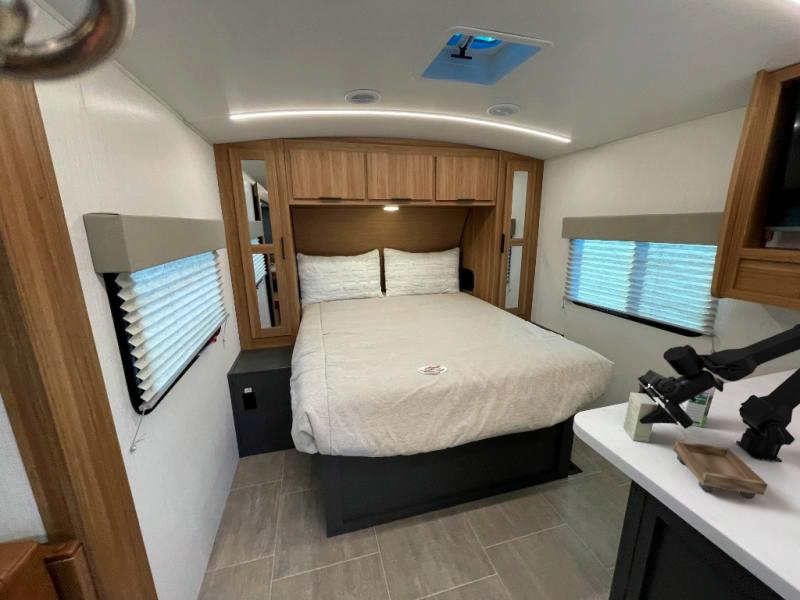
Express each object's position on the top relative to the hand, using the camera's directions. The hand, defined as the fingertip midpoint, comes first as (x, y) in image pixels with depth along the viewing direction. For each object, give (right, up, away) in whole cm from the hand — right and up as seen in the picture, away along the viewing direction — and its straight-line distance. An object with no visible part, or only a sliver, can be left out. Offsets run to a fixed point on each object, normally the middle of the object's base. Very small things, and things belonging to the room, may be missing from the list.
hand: (634, 414), depth 93 cm
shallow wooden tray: (+9, -11, -14) cm, 20 cm away
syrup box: (+23, -5, +9) cm, 25 cm away
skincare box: (+1, -7, +2) cm, 7 cm away
